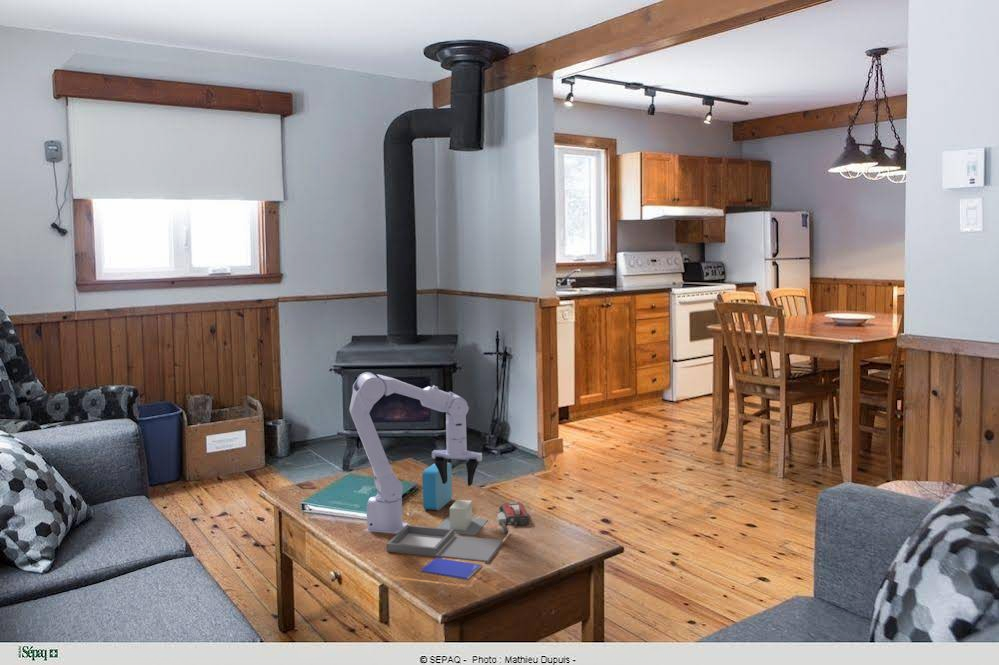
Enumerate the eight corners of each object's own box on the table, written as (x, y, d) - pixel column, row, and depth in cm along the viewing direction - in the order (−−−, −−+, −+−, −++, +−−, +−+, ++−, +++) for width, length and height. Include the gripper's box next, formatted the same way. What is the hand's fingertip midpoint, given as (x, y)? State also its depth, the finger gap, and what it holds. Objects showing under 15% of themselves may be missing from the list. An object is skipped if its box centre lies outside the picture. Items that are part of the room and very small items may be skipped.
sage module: (450, 529, 217) (449, 508, 216) (456, 520, 224) (456, 499, 223) (465, 530, 216) (465, 509, 216) (472, 521, 223) (471, 500, 222)
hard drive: (481, 564, 193) (436, 556, 198) (467, 577, 185) (420, 569, 190) (481, 570, 193) (436, 562, 198) (467, 583, 186) (420, 575, 190)
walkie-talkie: (492, 512, 233) (502, 537, 213) (492, 497, 232) (502, 522, 212) (522, 510, 234) (534, 535, 214) (522, 496, 233) (534, 520, 214)
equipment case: (386, 553, 203) (386, 543, 203) (407, 533, 216) (407, 524, 216) (487, 563, 195) (487, 553, 195) (502, 542, 208) (502, 533, 208)
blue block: (439, 497, 245) (438, 460, 244) (452, 499, 244) (451, 461, 243) (423, 510, 234) (421, 471, 233) (437, 512, 233) (435, 472, 231)
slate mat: (433, 533, 216) (433, 530, 216) (448, 517, 228) (448, 515, 228) (475, 537, 213) (475, 534, 213) (488, 521, 224) (488, 519, 224)
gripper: (484, 435, 226) (485, 481, 227) (437, 432, 230) (438, 477, 231) (477, 441, 219) (478, 488, 221) (428, 438, 223) (429, 485, 225)
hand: (457, 483), depth 226 cm, fingers open, 7 cm apart
